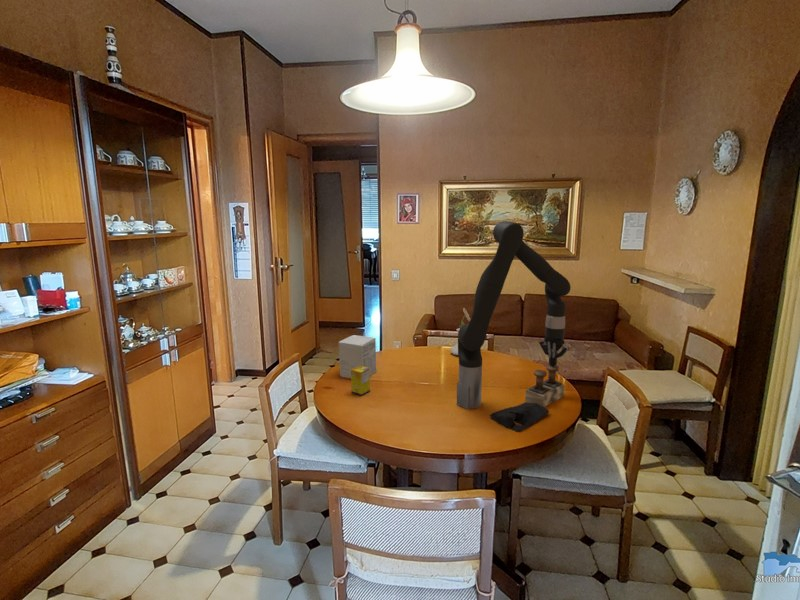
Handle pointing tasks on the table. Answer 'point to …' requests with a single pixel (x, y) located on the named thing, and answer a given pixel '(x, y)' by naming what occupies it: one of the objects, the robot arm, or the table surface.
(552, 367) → the brown mushroom knob
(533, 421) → the black folded cloth
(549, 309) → the robot arm
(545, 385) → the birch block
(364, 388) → the supplement box
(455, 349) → the flower in vase
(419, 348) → the table surface
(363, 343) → the supplement box
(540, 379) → the brown rounded piece
